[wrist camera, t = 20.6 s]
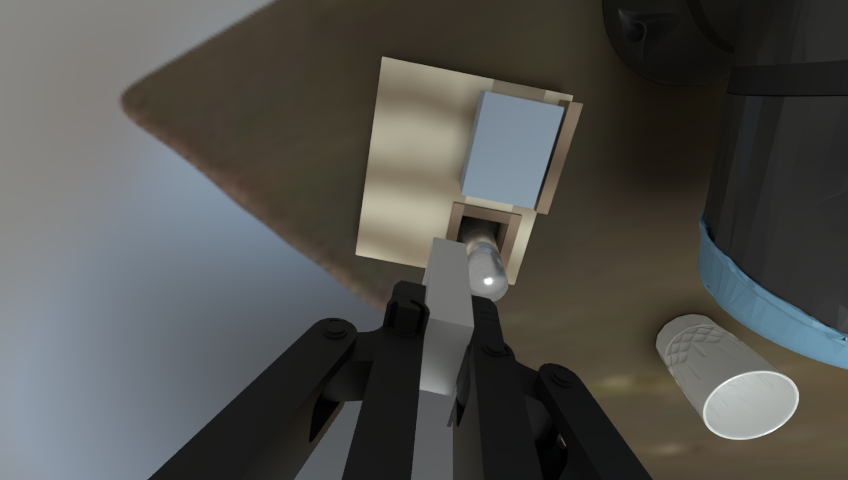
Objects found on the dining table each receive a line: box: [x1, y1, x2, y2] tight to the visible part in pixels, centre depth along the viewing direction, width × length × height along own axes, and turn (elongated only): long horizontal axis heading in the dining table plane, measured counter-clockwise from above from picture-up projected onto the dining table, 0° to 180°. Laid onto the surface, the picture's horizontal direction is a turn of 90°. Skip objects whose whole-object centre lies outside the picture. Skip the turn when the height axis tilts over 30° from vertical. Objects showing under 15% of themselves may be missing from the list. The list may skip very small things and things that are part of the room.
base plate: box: [356, 57, 583, 285], centre depth 36 cm, size 18×16×6 cm
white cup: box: [656, 314, 799, 440], centre depth 40 cm, size 8×8×10 cm
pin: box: [461, 217, 508, 302], centre depth 35 cm, size 3×3×12 cm
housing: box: [460, 90, 565, 209], centre depth 32 cm, size 8×6×4 cm
